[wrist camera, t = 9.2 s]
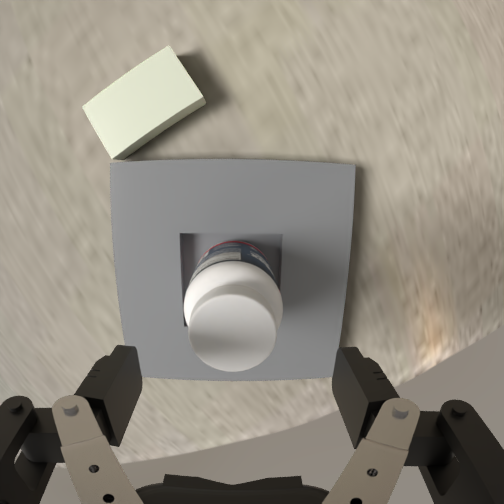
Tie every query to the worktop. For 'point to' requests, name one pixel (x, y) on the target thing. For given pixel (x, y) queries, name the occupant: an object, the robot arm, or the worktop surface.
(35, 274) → the worktop surface
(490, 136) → the worktop surface
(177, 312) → the grey square slab
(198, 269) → the pill bottle
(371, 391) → the robot arm
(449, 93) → the worktop surface
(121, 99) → the soap bar
